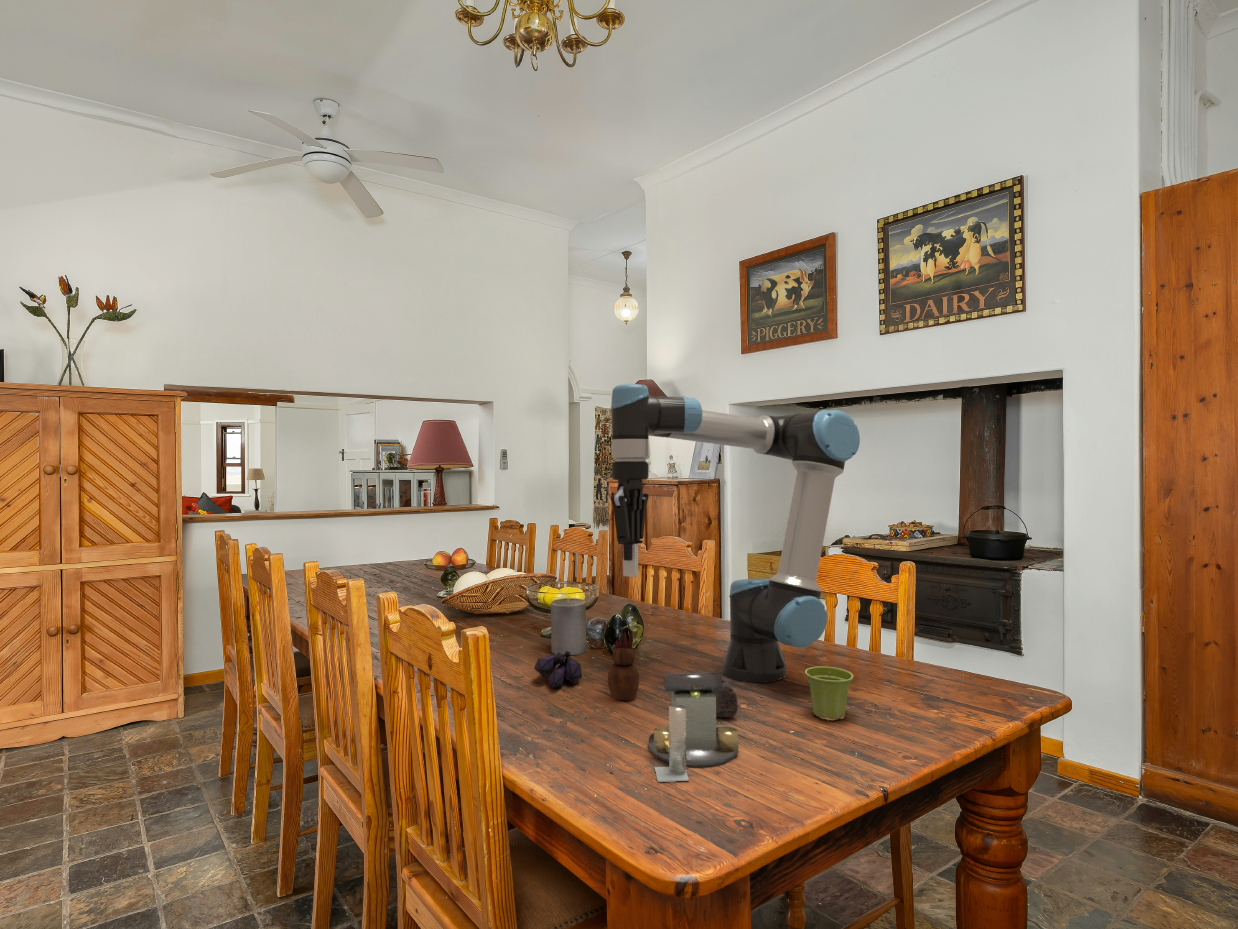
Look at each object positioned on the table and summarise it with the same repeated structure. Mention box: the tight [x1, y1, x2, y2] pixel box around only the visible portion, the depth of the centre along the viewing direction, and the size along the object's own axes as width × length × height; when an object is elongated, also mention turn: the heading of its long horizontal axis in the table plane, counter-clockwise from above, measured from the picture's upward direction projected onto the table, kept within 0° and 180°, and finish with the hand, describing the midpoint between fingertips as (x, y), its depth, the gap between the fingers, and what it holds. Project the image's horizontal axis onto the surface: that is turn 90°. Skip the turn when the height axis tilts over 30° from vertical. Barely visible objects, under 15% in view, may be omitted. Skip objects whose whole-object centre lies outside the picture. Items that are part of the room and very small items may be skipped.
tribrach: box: [648, 671, 739, 768], centre depth 122 cm, size 16×16×13 cm
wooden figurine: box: [607, 629, 640, 701], centre depth 148 cm, size 7×6×15 cm
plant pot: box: [804, 666, 854, 720], centre depth 137 cm, size 9×9×9 cm
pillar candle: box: [550, 596, 588, 656], centre depth 187 cm, size 10×10×15 cm
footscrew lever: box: [653, 704, 687, 772], centre depth 115 cm, size 10×4×10 cm, turn 14°
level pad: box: [654, 766, 690, 783], centre depth 111 cm, size 5×5×1 cm
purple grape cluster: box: [533, 651, 583, 689], centre depth 162 cm, size 7×12×20 cm
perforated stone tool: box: [713, 678, 739, 719], centre depth 141 cm, size 15×5×7 cm, turn 7°
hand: (630, 575), depth 138 cm, fingers closed
